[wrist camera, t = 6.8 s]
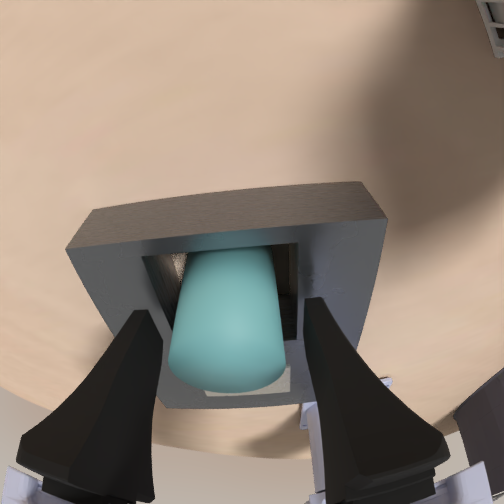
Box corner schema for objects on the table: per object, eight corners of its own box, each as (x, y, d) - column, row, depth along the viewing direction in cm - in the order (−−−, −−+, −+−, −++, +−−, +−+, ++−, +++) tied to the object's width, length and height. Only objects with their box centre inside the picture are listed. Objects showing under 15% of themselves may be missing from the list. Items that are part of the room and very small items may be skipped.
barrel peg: (272, 285, 16) (284, 390, 11) (196, 289, 16) (183, 393, 11) (271, 219, 13) (287, 330, 9) (181, 225, 13) (153, 334, 9)
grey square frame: (332, 362, 21) (340, 400, 18) (171, 373, 21) (166, 410, 19) (360, 181, 12) (390, 221, 10) (92, 210, 13) (63, 252, 10)
